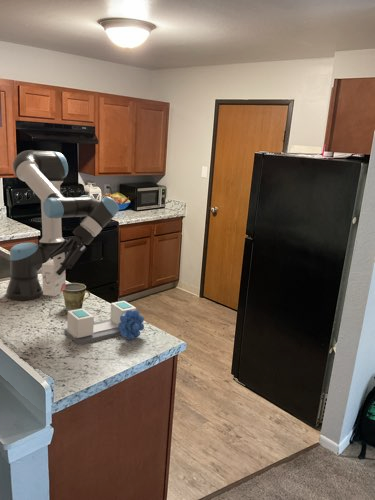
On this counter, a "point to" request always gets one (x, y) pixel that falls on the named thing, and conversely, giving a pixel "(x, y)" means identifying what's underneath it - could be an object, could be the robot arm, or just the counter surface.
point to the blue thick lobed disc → (131, 324)
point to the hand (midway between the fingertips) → (45, 277)
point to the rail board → (95, 324)
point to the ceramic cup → (74, 296)
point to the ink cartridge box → (47, 269)
